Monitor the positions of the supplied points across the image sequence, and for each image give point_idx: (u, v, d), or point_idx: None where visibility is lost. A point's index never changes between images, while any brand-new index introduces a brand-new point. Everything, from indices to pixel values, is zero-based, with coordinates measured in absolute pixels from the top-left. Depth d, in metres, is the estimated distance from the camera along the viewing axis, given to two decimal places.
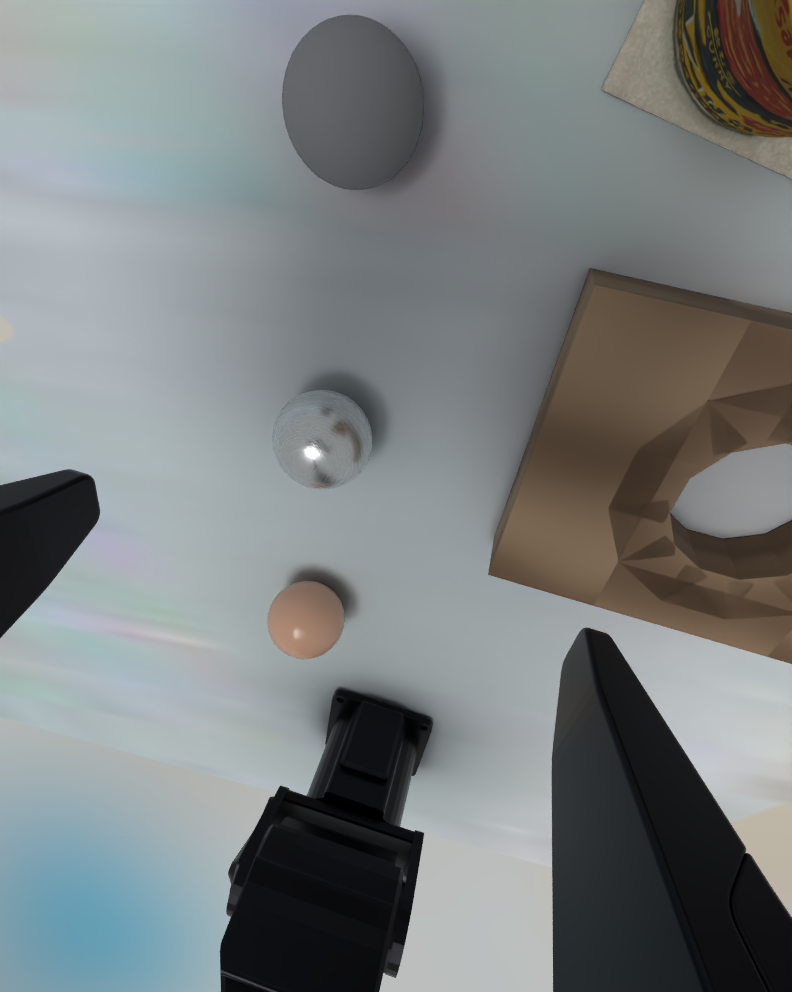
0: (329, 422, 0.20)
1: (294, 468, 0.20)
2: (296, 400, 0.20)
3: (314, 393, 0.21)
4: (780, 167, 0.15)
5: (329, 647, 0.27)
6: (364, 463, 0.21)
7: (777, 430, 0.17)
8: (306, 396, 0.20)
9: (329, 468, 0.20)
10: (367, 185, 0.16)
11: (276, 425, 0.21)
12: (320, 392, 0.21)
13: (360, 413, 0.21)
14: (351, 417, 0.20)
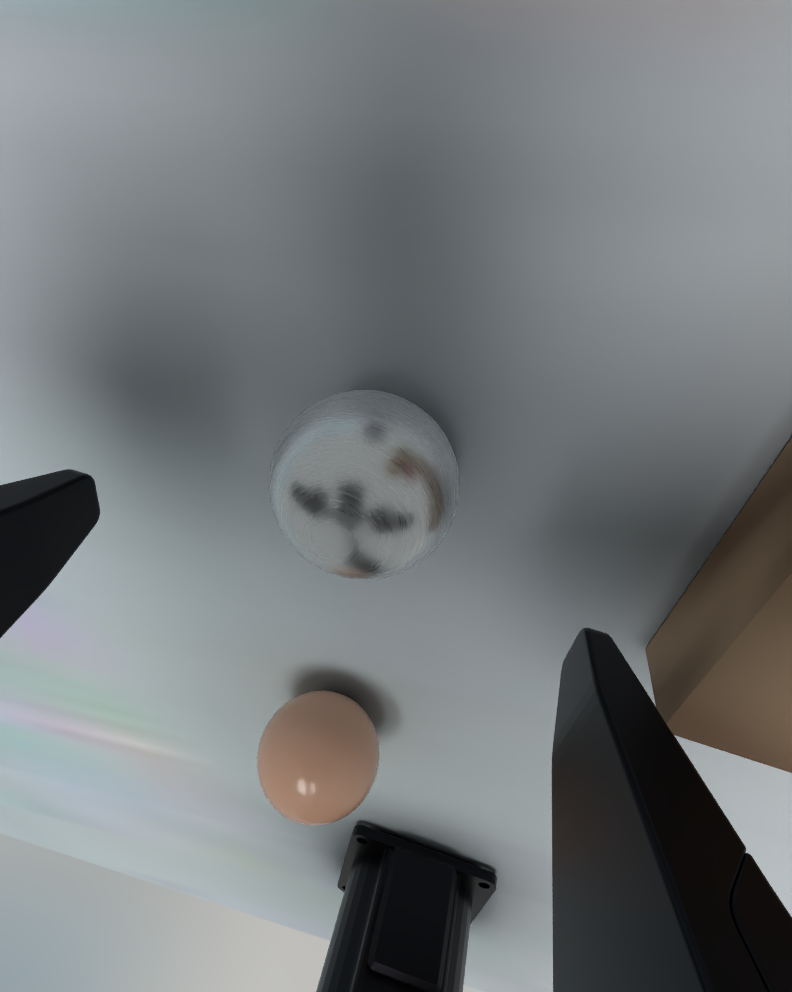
0: (389, 456, 0.10)
1: (312, 547, 0.10)
2: (318, 410, 0.10)
3: (354, 396, 0.10)
4: None
5: (356, 806, 0.17)
6: None
7: None
8: (338, 402, 0.10)
9: (384, 549, 0.10)
10: None
11: (277, 459, 0.10)
12: (365, 394, 0.10)
13: (442, 437, 0.11)
14: (430, 445, 0.10)
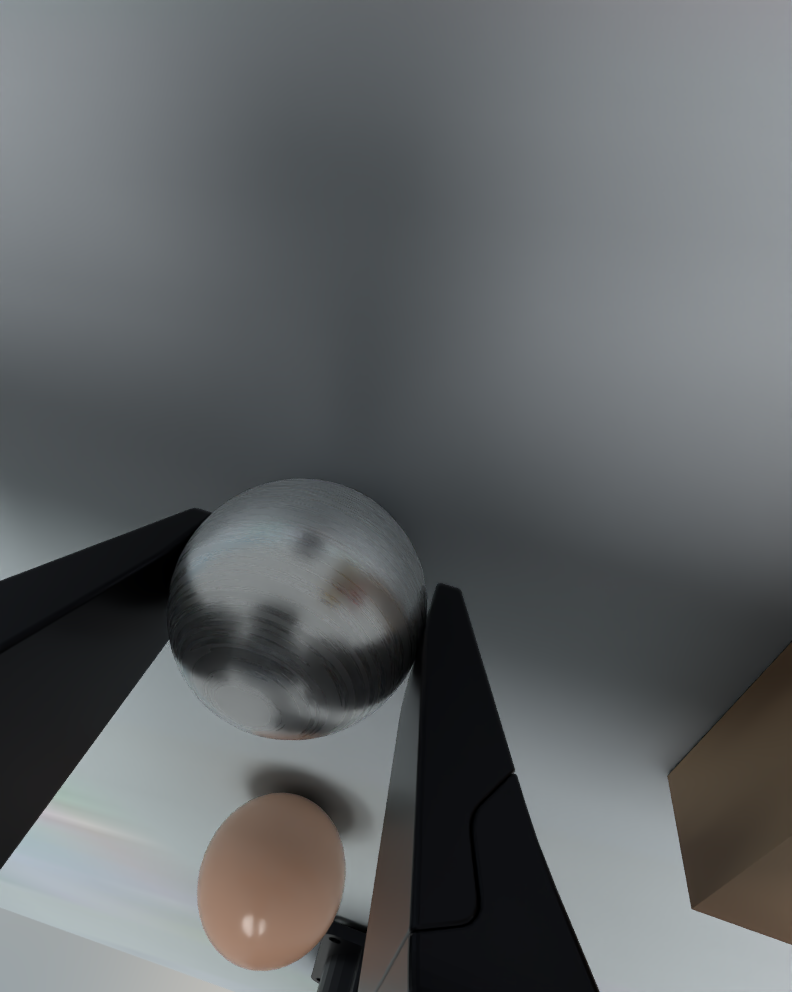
0: (318, 594, 0.07)
1: (217, 710, 0.07)
2: (227, 517, 0.07)
3: (277, 498, 0.07)
4: None
5: (316, 944, 0.14)
6: (408, 671, 0.08)
7: None
8: (255, 507, 0.07)
9: (316, 718, 0.07)
10: None
11: (173, 583, 0.08)
12: (294, 494, 0.08)
13: (401, 551, 0.08)
14: (381, 569, 0.07)
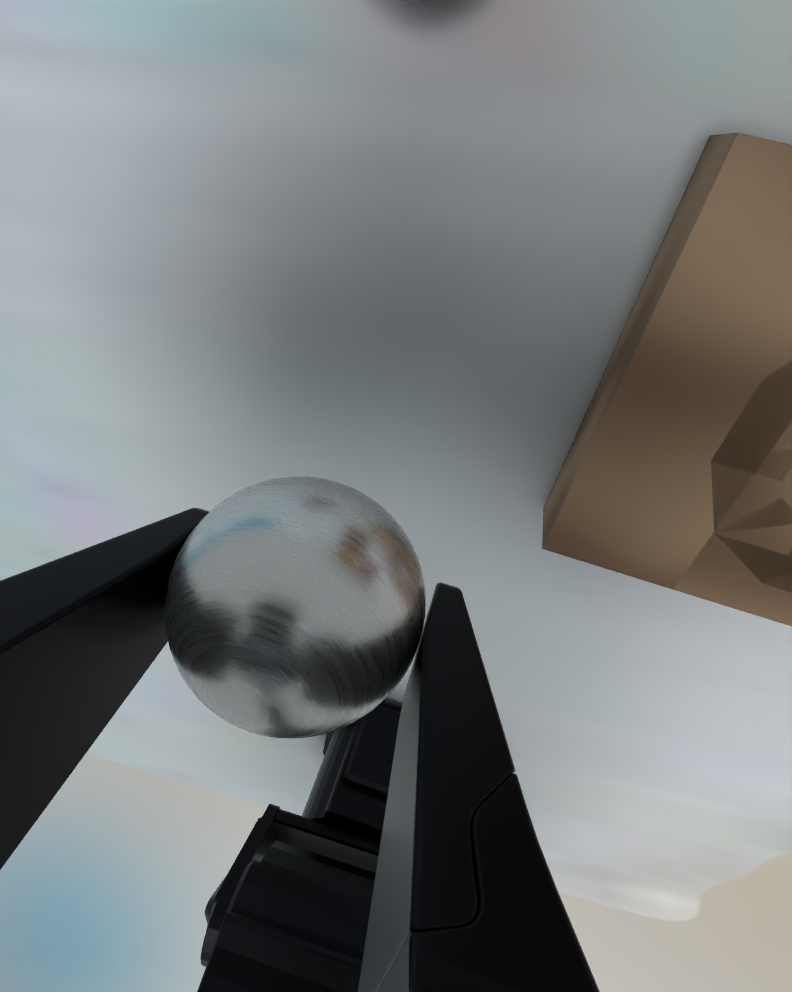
0: (316, 592, 0.07)
1: (216, 709, 0.07)
2: (225, 515, 0.07)
3: (276, 495, 0.07)
4: None
5: None
6: (407, 669, 0.08)
7: None
8: (253, 505, 0.07)
9: (314, 716, 0.07)
10: None
11: (171, 581, 0.08)
12: (292, 492, 0.08)
13: (399, 548, 0.08)
14: (379, 567, 0.07)
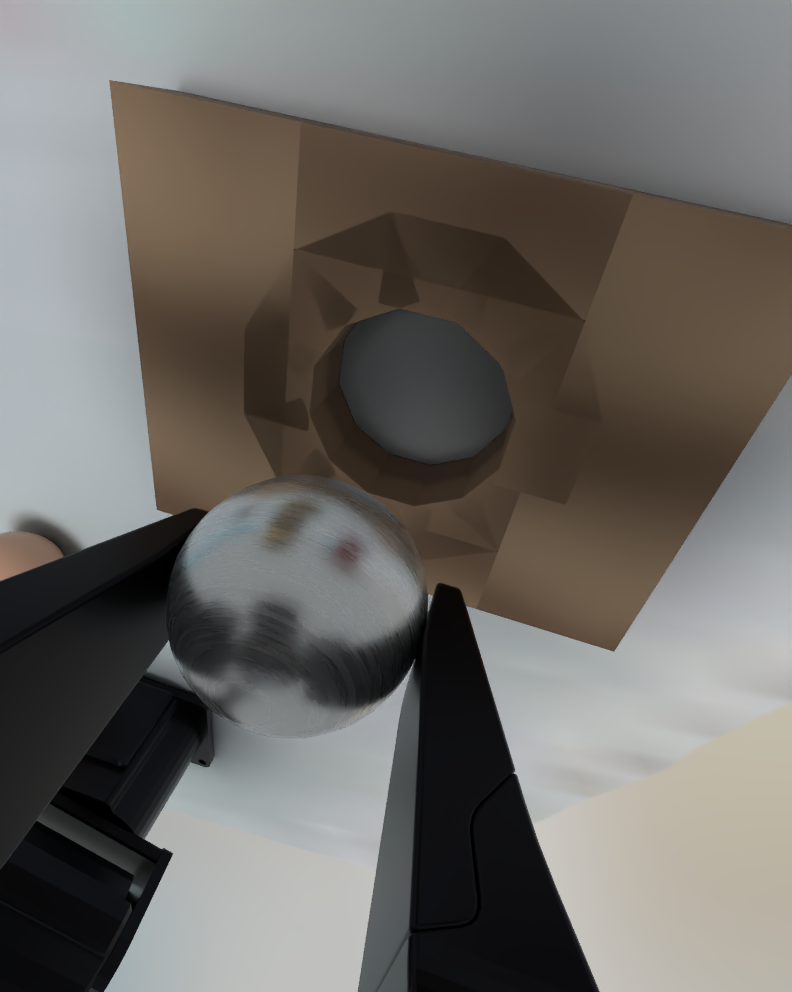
0: (318, 591, 0.07)
1: (217, 708, 0.07)
2: (226, 513, 0.07)
3: (277, 494, 0.07)
4: None
5: None
6: (409, 669, 0.08)
7: (384, 289, 0.13)
8: (254, 503, 0.07)
9: (316, 716, 0.07)
10: None
11: (172, 580, 0.07)
12: (294, 490, 0.07)
13: (401, 547, 0.08)
14: (382, 566, 0.07)
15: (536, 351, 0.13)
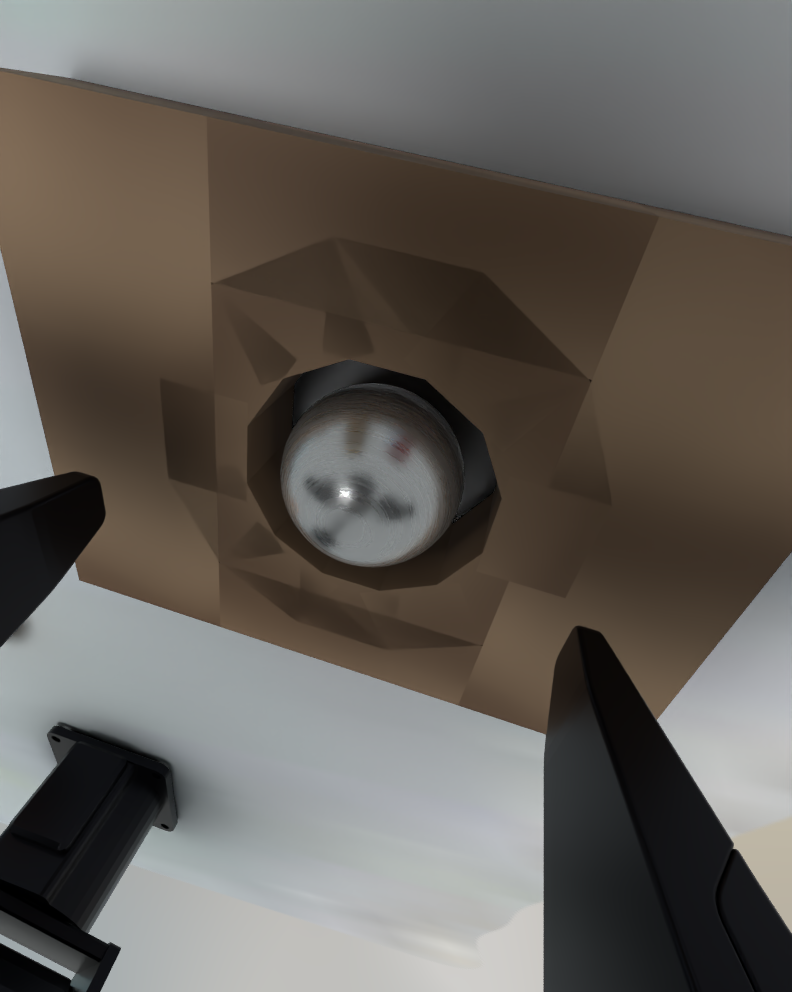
0: (398, 446, 0.10)
1: (323, 534, 0.10)
2: (328, 402, 0.11)
3: (362, 389, 0.11)
4: None
5: None
6: (451, 521, 0.11)
7: (329, 335, 0.10)
8: (347, 395, 0.11)
9: (394, 536, 0.10)
10: None
11: (289, 450, 0.11)
12: (374, 387, 0.11)
13: (448, 429, 0.11)
14: (437, 436, 0.10)
15: (527, 416, 0.10)
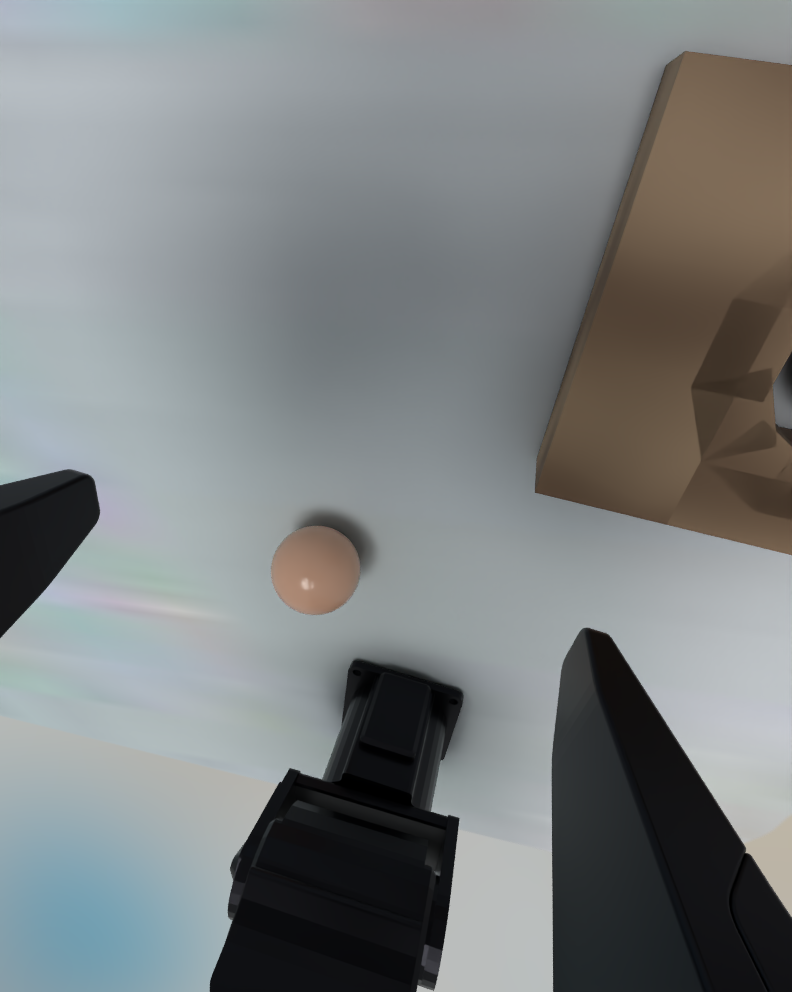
0: None
1: None
2: None
3: None
4: None
5: (343, 599, 0.23)
6: None
7: None
8: None
9: None
10: None
11: None
12: None
13: None
14: None
15: None
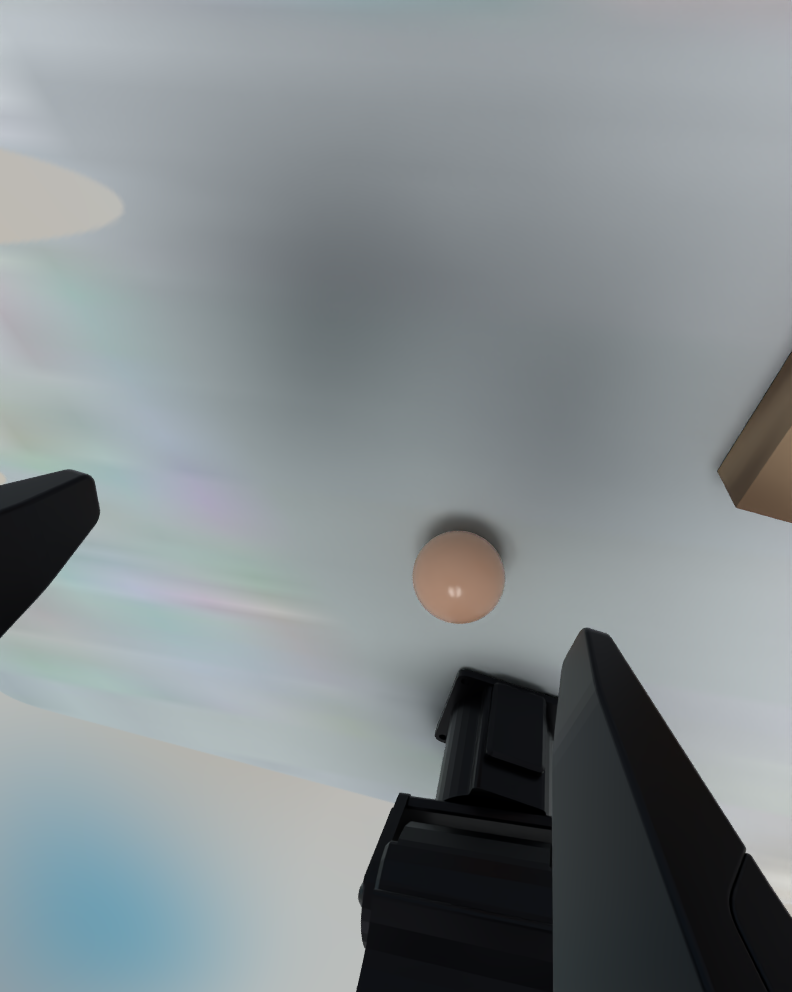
0: None
1: None
2: None
3: None
4: None
5: (491, 609, 0.22)
6: None
7: None
8: None
9: None
10: None
11: None
12: None
13: None
14: None
15: None
